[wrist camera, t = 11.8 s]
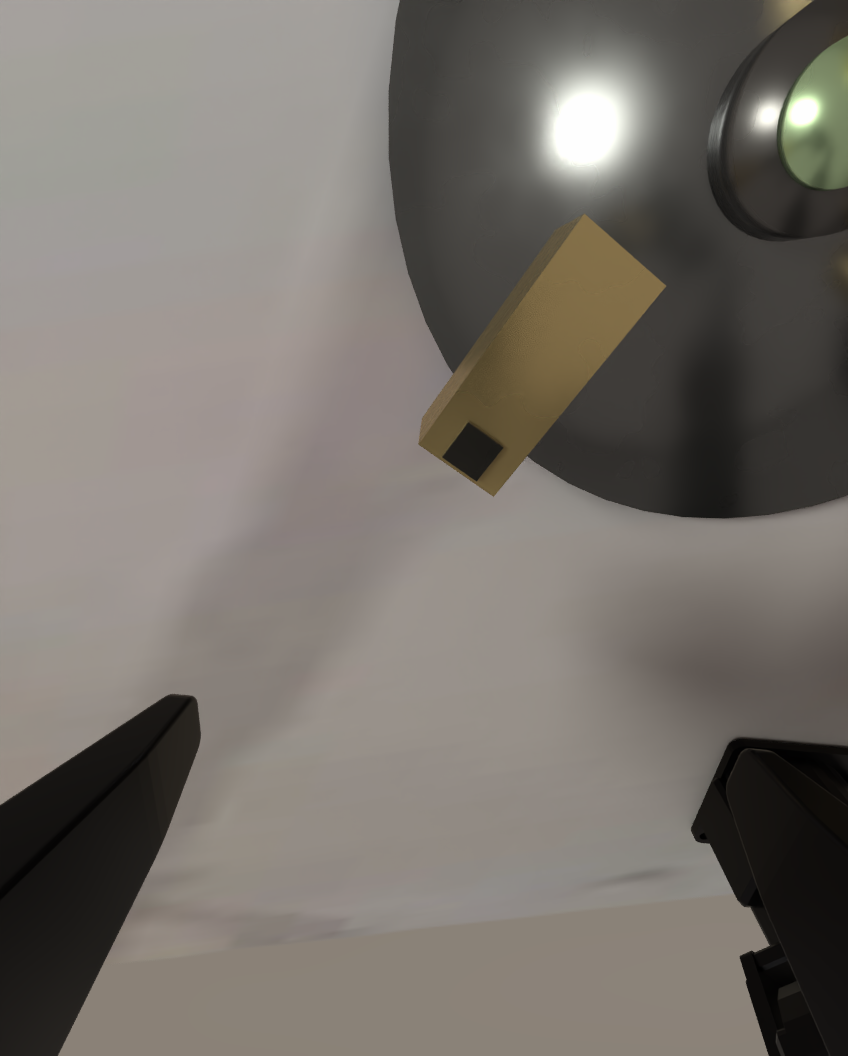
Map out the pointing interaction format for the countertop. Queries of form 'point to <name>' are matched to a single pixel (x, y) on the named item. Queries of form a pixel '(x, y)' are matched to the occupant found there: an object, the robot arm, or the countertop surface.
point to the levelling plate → (647, 224)
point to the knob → (537, 353)
